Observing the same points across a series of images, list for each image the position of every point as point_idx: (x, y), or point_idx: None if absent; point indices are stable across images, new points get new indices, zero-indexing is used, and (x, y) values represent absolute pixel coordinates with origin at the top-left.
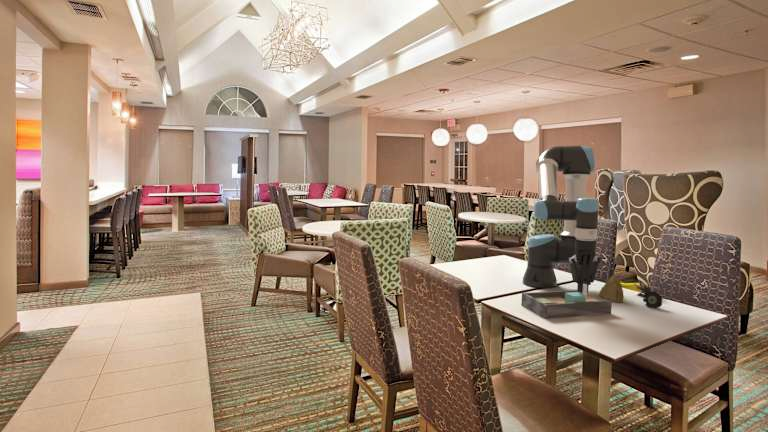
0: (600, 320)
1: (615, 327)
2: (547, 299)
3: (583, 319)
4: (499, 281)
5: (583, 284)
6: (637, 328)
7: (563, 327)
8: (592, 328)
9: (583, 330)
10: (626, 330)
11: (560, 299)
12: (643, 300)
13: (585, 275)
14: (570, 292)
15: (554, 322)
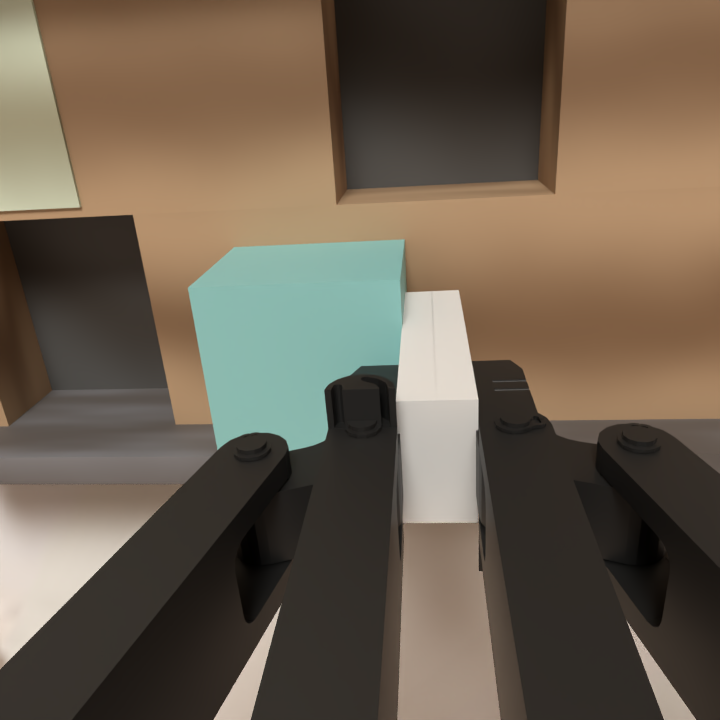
0: (442, 528)
1: (447, 658)
2: (64, 55)
3: None
4: None
5: (423, 491)
6: None
7: (58, 593)
8: (261, 642)
9: None
10: (481, 709)
11: (255, 82)
12: None
13: (493, 605)
14: (279, 291)
15: (26, 501)
